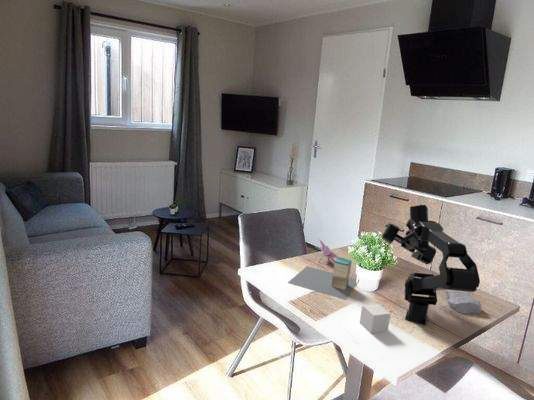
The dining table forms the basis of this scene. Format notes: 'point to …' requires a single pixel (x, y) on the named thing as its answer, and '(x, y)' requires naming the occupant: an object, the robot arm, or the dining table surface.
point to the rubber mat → (321, 282)
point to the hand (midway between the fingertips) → (400, 248)
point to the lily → (327, 252)
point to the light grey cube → (374, 318)
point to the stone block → (462, 302)
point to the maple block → (341, 273)
